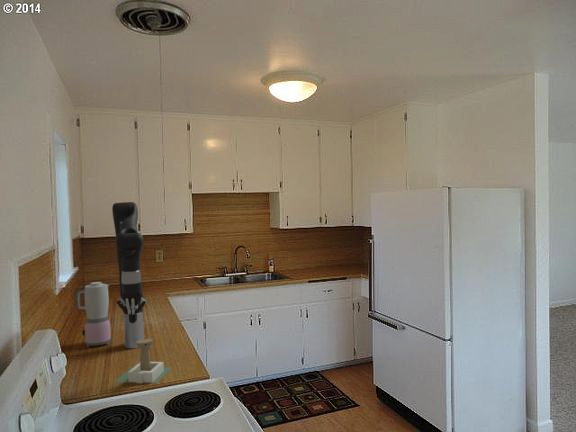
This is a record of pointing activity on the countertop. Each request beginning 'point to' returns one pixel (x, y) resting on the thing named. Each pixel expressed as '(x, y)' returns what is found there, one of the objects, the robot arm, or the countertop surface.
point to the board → (125, 379)
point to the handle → (145, 354)
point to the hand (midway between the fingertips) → (133, 322)
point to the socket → (146, 373)
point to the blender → (96, 314)
